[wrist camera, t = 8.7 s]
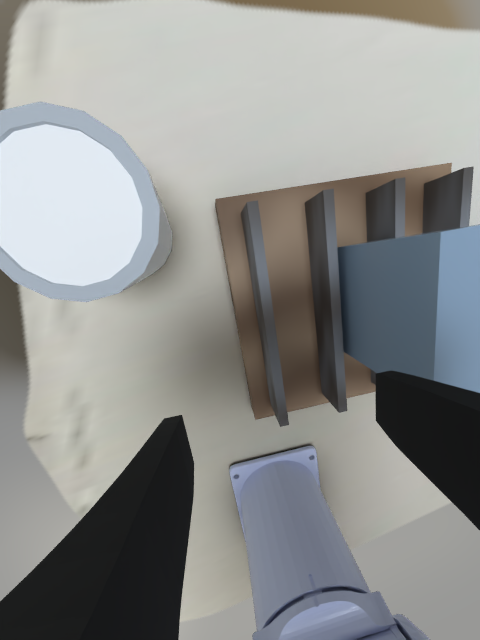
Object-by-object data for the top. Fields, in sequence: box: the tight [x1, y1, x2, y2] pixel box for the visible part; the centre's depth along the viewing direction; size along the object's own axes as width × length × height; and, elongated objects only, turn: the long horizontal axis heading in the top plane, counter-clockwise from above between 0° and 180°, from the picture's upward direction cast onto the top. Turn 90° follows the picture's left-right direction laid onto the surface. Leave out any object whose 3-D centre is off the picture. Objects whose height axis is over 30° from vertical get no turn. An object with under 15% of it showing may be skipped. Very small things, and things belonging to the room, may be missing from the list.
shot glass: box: [0, 102, 173, 302], centre depth 12 cm, size 7×7×7 cm
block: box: [337, 224, 480, 393], centre depth 12 cm, size 7×2×8 cm, turn 10°
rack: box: [215, 163, 473, 427], centre depth 16 cm, size 16×16×4 cm
